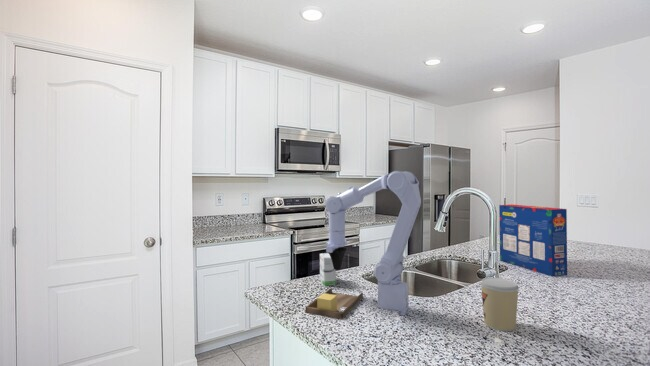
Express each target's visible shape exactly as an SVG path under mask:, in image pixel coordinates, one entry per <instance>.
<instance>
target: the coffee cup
mask: <svg viewBox="0 0 650 366" xmlns="http://www.w3.org/2000/svg"><path fill="white" fill-rule="evenodd" d="M480 287H481V300H482V310H483V311H482V312H483V321H484V325H486V326H487V327H489V328H491V329H493V330H497V331H501V332H502V331H503V332H511V331H514V330H515V329H516V327H517V326H516V324H517V316H518V315H517V312H518V299H519V297H518V295H519V290H520V287H519V286H518V284H517V282H515V281H513V280H511V279H507V278H501V277H485V278H482V280H481V281H480Z"/></svg>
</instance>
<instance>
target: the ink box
mask: <svg viewBox="0 0 650 366" xmlns="http://www.w3.org/2000/svg"><path fill="white" fill-rule="evenodd" d="M319 280H320V282H321V284H323V286H326V287H327V286H336V285H337V269H334V267H333V263H332V260H331V257H330V255H329V253H328V252H324V253H323V252H322V253H319Z"/></svg>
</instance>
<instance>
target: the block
mask: <svg viewBox="0 0 650 366" xmlns="http://www.w3.org/2000/svg"><path fill="white" fill-rule="evenodd" d="M316 299H317V308H318V309H323V310H329V311H336V310H337V295H332V294H326V293H325V292H324V293H322V294H321V295H319V296H318V297H317V298H316Z"/></svg>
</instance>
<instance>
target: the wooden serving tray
mask: <svg viewBox="0 0 650 366" xmlns="http://www.w3.org/2000/svg"><path fill="white" fill-rule="evenodd" d="M324 293H326V294H332V295H337V310H336V311H329V310H323V309H318V308H317V298H316V299H314V300H313V301H312V302H310V303H309V304H308V305H306V306H305V309H304V310H305V313H307V314H313V315H318V316H325V317H328V318H336V319H338V320H339V319H340V320H343V319H344V317H346V316H347V315H348V313H350V311H352V309H353V308H354V307H355V306H356V305H357V304H358V303H359V302H360V301H361V300H362V298H364V292H361V293H360V294H359V295H351V294H345V293H339V292H338V293H337V292H333V288H331V287H330V288H329V289H328V290H326V291H325V292H324ZM342 308H345V309H343V311H340V309H342Z"/></svg>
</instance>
